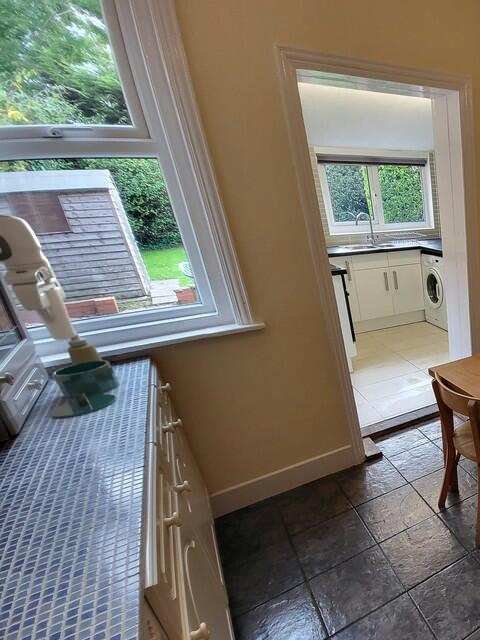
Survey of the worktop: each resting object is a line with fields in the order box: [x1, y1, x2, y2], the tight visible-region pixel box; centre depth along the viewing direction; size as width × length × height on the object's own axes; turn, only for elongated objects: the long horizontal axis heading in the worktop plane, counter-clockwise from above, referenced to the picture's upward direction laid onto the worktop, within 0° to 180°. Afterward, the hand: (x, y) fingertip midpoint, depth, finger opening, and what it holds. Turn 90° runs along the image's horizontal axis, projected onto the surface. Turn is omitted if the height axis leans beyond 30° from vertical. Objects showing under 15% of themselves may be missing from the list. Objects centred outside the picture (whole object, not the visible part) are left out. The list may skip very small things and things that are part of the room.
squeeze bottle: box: [67, 330, 103, 365], centre depth 144 cm, size 8×8×18 cm
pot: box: [51, 359, 120, 400], centre depth 135 cm, size 13×13×8 cm
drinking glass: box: [34, 288, 77, 341], centre depth 126 cm, size 7×7×15 cm
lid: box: [50, 393, 117, 419], centre depth 124 cm, size 14×14×5 cm
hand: (55, 319), depth 126 cm, fingers closed on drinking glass, 6 cm apart
